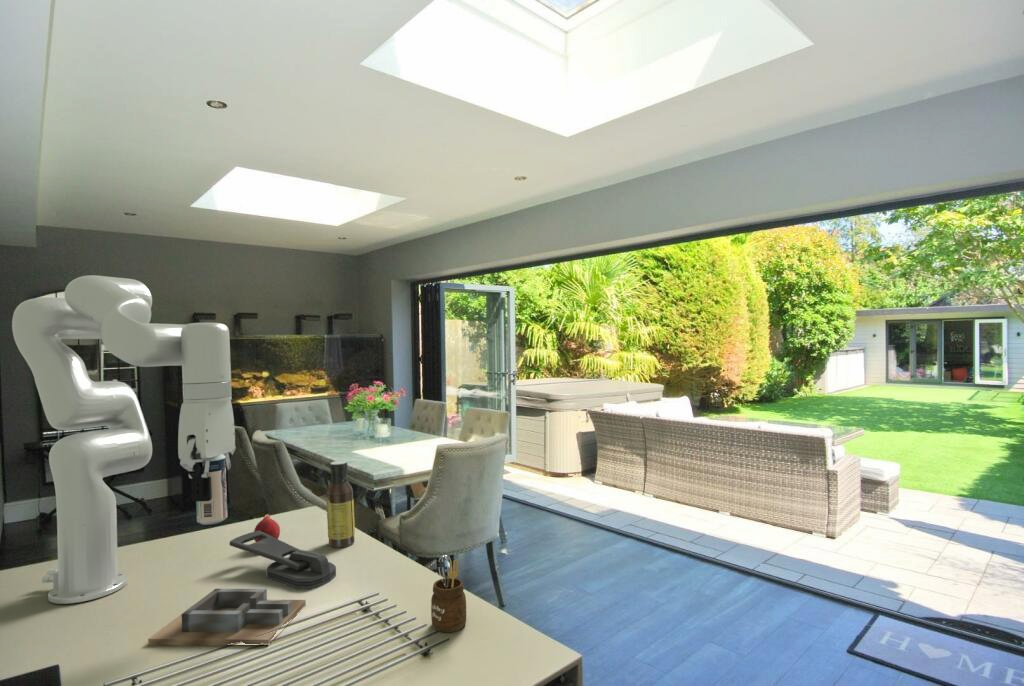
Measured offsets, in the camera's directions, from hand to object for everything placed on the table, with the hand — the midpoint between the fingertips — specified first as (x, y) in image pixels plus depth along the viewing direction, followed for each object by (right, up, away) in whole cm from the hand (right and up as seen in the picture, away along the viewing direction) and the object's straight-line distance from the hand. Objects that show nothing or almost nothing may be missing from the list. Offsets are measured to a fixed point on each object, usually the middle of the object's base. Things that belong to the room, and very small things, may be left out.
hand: (211, 495), depth 98 cm
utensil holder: (+42, -21, -3) cm, 47 cm away
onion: (-6, -22, +35) cm, 42 cm away
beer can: (0, -5, 0) cm, 5 cm away
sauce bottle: (+11, -22, +37) cm, 45 cm away
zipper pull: (+4, -22, +20) cm, 31 cm away
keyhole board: (+4, -22, -1) cm, 22 cm away
